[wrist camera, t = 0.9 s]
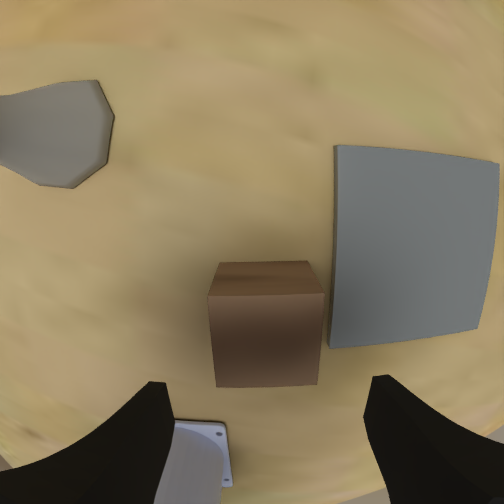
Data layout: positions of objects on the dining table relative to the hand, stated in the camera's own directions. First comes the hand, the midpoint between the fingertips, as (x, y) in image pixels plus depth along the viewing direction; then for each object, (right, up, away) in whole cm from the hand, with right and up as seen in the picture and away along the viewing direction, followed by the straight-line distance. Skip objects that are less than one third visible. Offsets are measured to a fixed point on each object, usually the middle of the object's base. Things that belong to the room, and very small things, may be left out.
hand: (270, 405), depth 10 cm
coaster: (+10, +5, +8) cm, 14 cm away
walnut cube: (0, +2, +9) cm, 9 cm away
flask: (-12, +13, +6) cm, 19 cm away
